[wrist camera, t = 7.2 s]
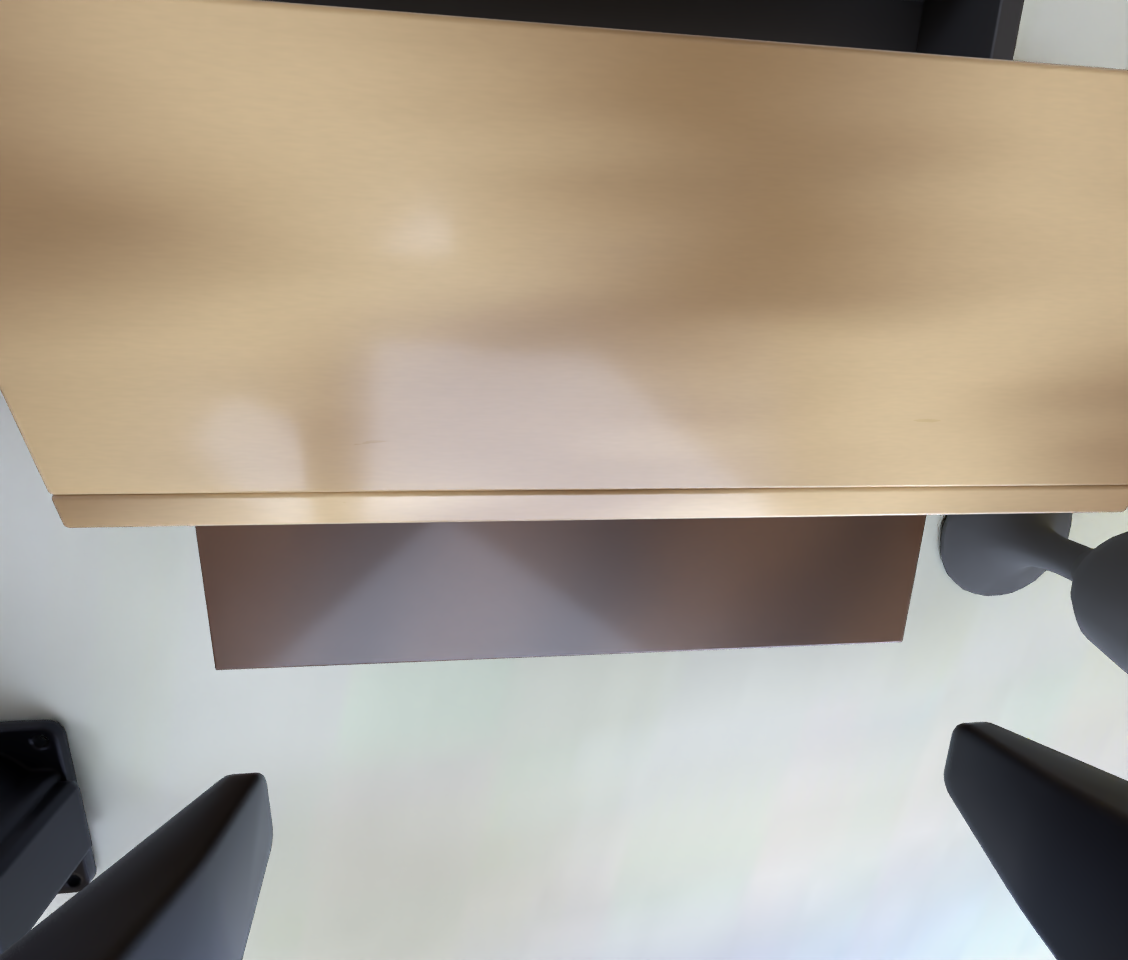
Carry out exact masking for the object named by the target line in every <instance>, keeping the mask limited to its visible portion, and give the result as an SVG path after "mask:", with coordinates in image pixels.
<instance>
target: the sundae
mask: <svg viewBox="0 0 1128 960" xmlns="http://www.w3.org/2000/svg"><path fill="white" fill-rule="evenodd" d="M1071 520H1072V513H1017V514H950V515H947V518H946V520H945V522H944V525H943V529H942V535H941V546H940V553H941V557H942V561H943V564H944V567H945V569H946V571H947V574H948V575H949V576H950V577H951V578H952V580H953V581H954V582H955V583H956V584H958V585H959V586H960V587H961V588H962V589H964V590H967V591H969V592H972V593H975V594H980V595H984V596H992V595H1003V594H1008V593H1012V592H1015V591H1017V590H1019V589H1021V588H1023V587H1025V586H1027V585H1028V584H1030V583H1032V582H1033V581H1035V580H1036V579H1037V578H1038V577H1039V576H1040V575H1041V574H1043V573H1044V572H1045V571H1046V570H1048V571H1051V572H1054V573H1057V574H1059V575H1061V576H1063V577H1065V578H1067V579H1069V580H1071V581H1073V582H1072V587H1071V600H1072V605H1073V609H1074V614H1075V617H1076V620H1077V623H1078V625H1079V627H1080V630H1081V631H1082V633H1083V634H1084V635H1085V636H1086V638H1087V639H1088V640H1090V641H1091V642H1092V643H1093V644H1094V645H1095V646H1096V647H1098V648H1099V649H1100V650H1101V651H1102V652H1103V653H1104V654H1105V655H1107V656H1108V657H1109V658H1110V659H1111V660H1112V661H1113V662H1115V663H1116V664H1117V665H1118V666H1119V667H1120V668H1121V669H1123V670H1124V671H1125V672H1126V673H1127V674H1128V532H1125V533H1122V534H1120V535H1117V536H1115V537H1112V538H1110V539H1108V540H1107V541H1105V542H1104V543H1102V544H1100V545H1099V546H1098V547H1096V548H1095V549H1092V548H1089V547H1087V546H1084V545H1081V544H1079V543H1076V542H1074V541H1071V540H1069V539H1068V536H1069V532H1070V527H1071Z"/></svg>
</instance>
